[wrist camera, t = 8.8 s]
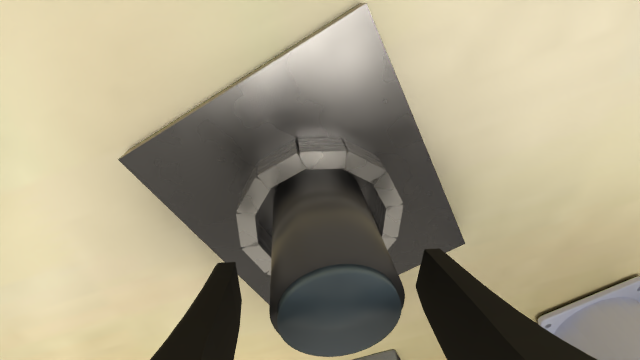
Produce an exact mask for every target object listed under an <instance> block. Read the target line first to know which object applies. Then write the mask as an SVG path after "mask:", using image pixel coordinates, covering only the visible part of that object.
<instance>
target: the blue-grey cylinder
mask: <svg viewBox="0 0 640 360" xmlns="http://www.w3.org/2000/svg"><path fill="white" fill-rule="evenodd" d="M404 299H405V293H404V288H403V285H402V282H401V280H400V278H399V276H398V273H397V271H396V269H395V266H394V264H393V262H392V260H391V257H390V255H389V253H388V250H387V248H386V246H385V244H384V241H383V239H382V237H381V234H380V232H379V230H378V228H377V225H376V223H375V221H374V218H373V216H372V214H371V211H370V209H369V207H368V205H367V202H366V200H365V198H364V195H363V193H362V191H361V189H360V186H359V184H358V183H357V181H356V180H355V179H354V177H353V176H352V175H350V174H349V173H348V172H346V171H345V170H343V169H341V168H339V169H313V170H303V171H301V172H299V173H297V174H295V175H294V176H292V177H290V178H288V179H286V180H285V181H283V182H281V184H280V185H279V187H278V188H277V191H276V193H275V196H274V202H273V227H272V255H271V283H270V319H271V322H272V324H273V326H274V328H275V329H276V331H277V332H278V333H279V334H280V335H281V337H282V338H283V340H284V341H285V342H286V343H287V344H288V345H289V346H291V347H292V348H294V349H296V350H298V351H300V352H303V353H305V354H309V355H314V356H323V357H334V356H343V355H348V354H352V353H356V352H359V351H362V350H364V349H367V348H369V347H371V346H373V345H375V344H376V343H378V342H380V341H381V340H382V339H384V338H385V337H386V336H387V335H388V334H389V333H390V332H391V331H392V330H393V329H394V327H395V326H396V324H397V323H398V320H399V318H400V315H401V310H402V308H403V304H404Z"/></svg>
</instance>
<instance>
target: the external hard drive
mask: <svg viewBox="0 0 640 360" xmlns="http://www.w3.org/2000/svg"><path fill="white" fill-rule="evenodd" d="M354 360H400V358H399V357H398V355H397V353H396V351H395V350H389V351H384V352H380V353H376V354H372V355H369V356H365V357H361V358H358V359H354Z"/></svg>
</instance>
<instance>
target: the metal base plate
mask: <svg viewBox="0 0 640 360" xmlns="http://www.w3.org/2000/svg"><path fill="white" fill-rule="evenodd" d="M118 160H119V161H120V162H121V163H122V164H123V165H124V166H125V167H126V168H127V169H128V170H129V171H130V172H132V173H133V174H134V175H135V176H136V177H137V178H138V179H139V180H140V181H141V182H142V183H143V184H144V185H145V186H146V187H147V188H148V189H149V190H150V191H151V192H152V193H153V194H154V195H155V196H157V197H158V198H159V199H160V200H161V201H162V202H163V203H164V204H165V205H166V206H167V207H168V208H169V209H170V210H171V211H172V212H173V213H174V214H175V215H176V216H177V217H178V218H179V219H180V220H182V221H183V222H184V223H185V224H186V225H187V226H188V227H189V228H190V229H191V230H192V231H193V232H194V233H195V234H196V235H197V236H198V237H199V238H200V239H201V240H202V241H203V242H204V243H205V244H207V245H208V246H209V247H210V248H211V249H212V250H213V251H214V252H215V253H216V254H217V255H218V256H219V257H220V258H221V259H222V260H223V261H224V262H225V263H226V262H236V268H237V274H238V275H239V276H240V277H241V278H242V279H243V280H244V281H245V282H246V283H247V284H248V285H249V286H250V287H251V288H252V289H253V290H254V291H255V292H257V293H258V294H259V295H260V296H261V297H262V298H263V299H264V300H265V301H266V302H267V303H268V304H269V305H270V283H271V255H272V227H273V202H274V196H275V193H276V191H277V188H278V187H279V185H280V184H281V182H283V181H285V180H286V179H288V178H290V177H292V176H294V175H295V174H297V173H299V172H301V171H303V170H313V169H339V168H341V169H343V170H345V171H346V172H348V173H349V174H350V175H352V176H353V177H354V179H355V180H356V181H357V183H358V184H359V186H360V189H361V191H362V193H363V195H364V198H365V200H366V202H367V205H368V207H369V209H370V211H371V214H372V216H373V218H374V221H375V223H376V225H377V228H378V230H379V232H380V234H381V237H382V239H383V241H384V244H385V246H386V248H387V250H388V253H389V255H390V257H391V260H392V262H393V264H394V266H395V269H396V271H397V273H398V275H399V274H401V273H403V272H405V271H408V270H410V269H412V268H414V267H416V266H418V265H420V264H421V261H422V257H423V253H424V249H437V248H440V249H441V250H442V251H443V252H445V253H446V252H448V251H450V250H452V249H455V248H457V247H459V246H461V245H463V244H465V242H464V239H463V237H462V234H461V232H460V230H459V227H458V225H457V222H456V220H455V217H454V215H453V213H452V210H451V208H450V205H449V203H448V200H447V198H446V195H445V193H444V191H443V188H442V186H441V183H440V181H439V178H438V176H437V173H436V171H435V169H434V166H433V164H432V161H431V159H430V156H429V154H428V152H427V149H426V147H425V144H424V142H423V139H422V137H421V134H420V132H419V130H418V127H417V125H416V122H415V120H414V117H413V115H412V113H411V110H410V108H409V105H408V103H407V100H406V98H405V95H404V93H403V91H402V88H401V86H400V83H399V81H398V78H397V76H396V74H395V71H394V69H393V66H392V64H391V61H390V59H389V56H388V54H387V52H386V49H385V47H384V44H383V42H382V39H381V37H380V35H379V32H378V30H377V27H376V25H375V22H374V20H373V17H372V15H371V13H370V10H369V8H368V5H367V3H360V4H359V5H357V6H355V7H354V8H352V9H351V10H349V11H348V12H346V13H344V14H343V15H341V16H340V17H338V18H337V19H335V20H333V21H332V22H330V23H329V24H327V25H325V26H324V27H322V28H321V29H319V30H318V31H316V32H314V33H313V34H311V35H310V36H308V37H306V38H305V39H303V40H302V41H300V42H299V43H297V44H295V45H294V46H292V47H291V48H289V49H287V50H286V51H284V52H283V53H281V54H280V55H278V56H276V57H275V58H273V59H272V60H270V61H269V62H267V63H265V64H264V65H262V66H261V67H259V68H257V69H256V70H254V71H253V72H251V73H250V74H248V75H246V76H245V77H243V78H242V79H240V80H238V81H237V82H235V83H234V84H232V85H231V86H229V87H227V88H226V89H224V90H223V91H221V92H219V93H218V94H216V95H215V96H213V97H212V98H210V99H208V100H207V101H205V102H204V103H202V104H201V105H199V106H197V107H196V108H194V109H193V110H191V111H189V112H188V113H186V114H185V115H183V116H182V117H180V118H178V119H177V120H175V121H174V122H172V123H170V124H169V125H167V126H166V127H164V128H163V129H161V130H159V131H158V132H156V133H155V134H153V135H151V136H150V137H148V138H147V139H145V140H144V141H142V142H140V143H139V144H137V145H136V146H134V147H133V148H131V149H129V150H128V151H127V152H126V153H125V154H124V155H123V156H122V157H121V158H119V159H118Z"/></svg>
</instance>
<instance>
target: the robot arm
mask: <svg viewBox="0 0 640 360" xmlns="http://www.w3.org/2000/svg"><path fill="white" fill-rule="evenodd" d="M416 289H417V292H418V295H419V298H420V301H421V304H422V307H423V310H424V312H425V315H426V317H427V319H428V321H429V323H430V325H431V327H432V329H433V331H434V334H435V336H436V338H437V340H438V342H439V344H440V346H441V348H442V350H443V352H444V354H445V356H446V358H447V360H640V276H637V277H634V278H632V279H629V280H627V281H625V282H622V283H620V284H617V285H615V286H612V287H610V288H608V289H605V290H603V291H600V292H598V293H595V294H593V295H591V296H588V297H586V298H583V299H581V300H579V301H576V302H574V303H571V304H569V305H566V306H564V307H562V308H559V309H557V310H554V311H552V312H549V313H547V314H545V315H542V316H540V317H539V318H538V324H539V325H538V324H537V323H535V322H534V321H532V320H531V319H529V318H528V317H526V316H525V315H523V314H522V313H520V312H519V311H518V310H516V309H515V308H513V307H512V306H511V305H509V304H508V303H507V302H505V301H504V300H503V299H501V298H500V297H499V296H497V295H496V294H495V293H493V292H492V291H491V290H489V289H488V288H487V287H486V286H484V285H483V284H482V283H481V282H479V281H478V280H477V279H476V278H475V277H473V276H472V275H471V274H470V273H469V272H467V271H466V270H465V269H464V268H463V267H461V266H460V265H459V264H458V263H457V262H455V261H454V260H453V259H452V258H451V257H449V256H448V255H447V254H446V253H445V252H443V251H442V250H441V249H440V248H437V249H424V253H423V257H422V261H421V266H420V270H419V274H418V278H417V283H416ZM241 302H242V299H241V293H240V287H239V281H238V275H237V268H236V262H226V263H218V264H217V265H216V266H215V268H214V270H213V271H212V273H211V275H210V277H209V278H208V280H207V282H206V283H205V285H204V286H203V288H202V290H201V291H200V293H199V294H198V296H197V297H196V299H195V300H194V302H193V303H192V305H191V306H190V308H189V309H188V311H187V312H186V314H185V315H184V317H183V318H182V319H181V321H180V322H179V323H178V325H177V326H176V327H175V329H174V330H173V331H172V333H171V334H170V336H169V337H168V338H167V339H166V341H165V342H164V343H163V345H162V346H161V347H160V348H159V350H158V351H157V352H156V353H155V354H154V356H153V357H152V358H151V359H150V360H233V359H234V354H235V349H236V344H237V338H238V333H239V327H240V315H241Z"/></svg>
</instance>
